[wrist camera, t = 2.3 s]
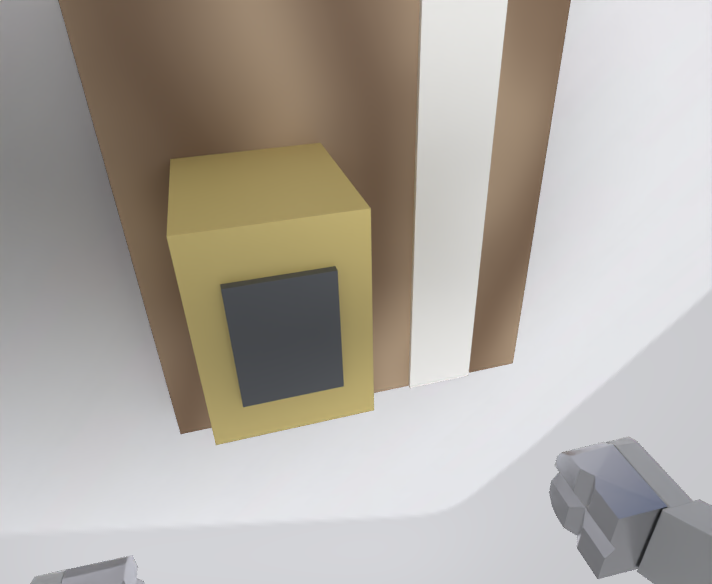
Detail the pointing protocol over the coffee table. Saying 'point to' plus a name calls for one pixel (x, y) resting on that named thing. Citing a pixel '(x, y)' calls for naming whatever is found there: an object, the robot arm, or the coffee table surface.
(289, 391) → the block
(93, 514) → the coffee table surface
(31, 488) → the coffee table surface
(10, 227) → the coffee table surface
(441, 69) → the board
